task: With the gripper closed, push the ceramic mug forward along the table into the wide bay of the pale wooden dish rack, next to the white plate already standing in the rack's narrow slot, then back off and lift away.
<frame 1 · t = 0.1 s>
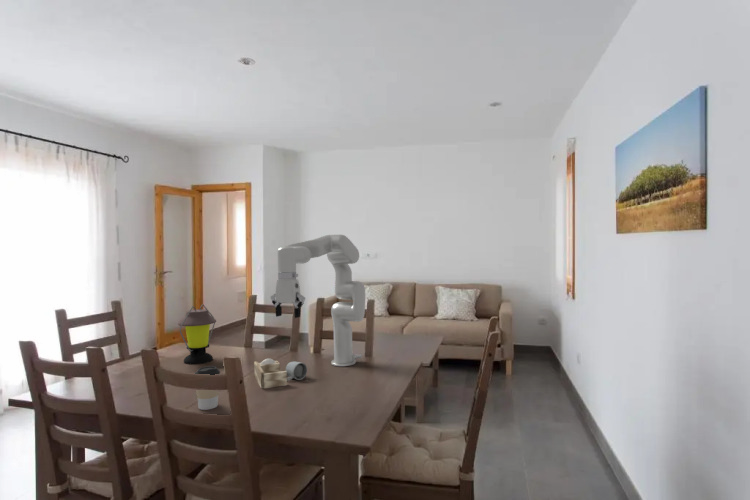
hand: (288, 316, 187), 31 cm above the table, tool pointing down, fingers open, 9 cm apart
lantern: (198, 361, 239), on the table
white plate: (268, 376, 208), resting in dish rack
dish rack: (270, 380, 201), on the table
coffee cup: (208, 406, 170), on the table
ceramic mug: (293, 379, 204), on the table
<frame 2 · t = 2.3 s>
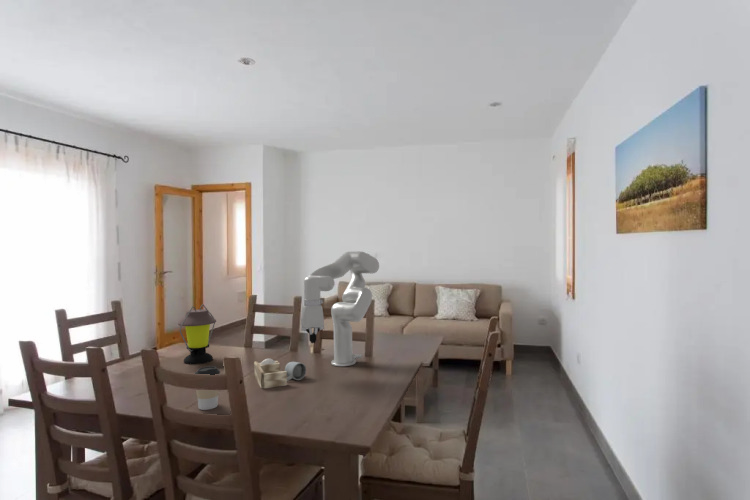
hand: (312, 342, 207), 16 cm above the table, tool pointing down, fingers closed
nothing on the table moved.
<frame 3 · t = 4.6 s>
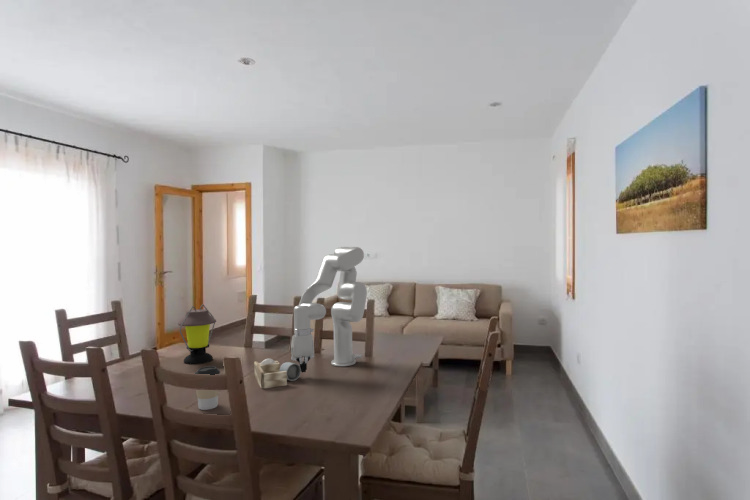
hand: (303, 371, 205), 3 cm above the table, tool pointing down, fingers closed
ceramic mug: (287, 380, 202), on the table, touching gripper
everything else where it was.
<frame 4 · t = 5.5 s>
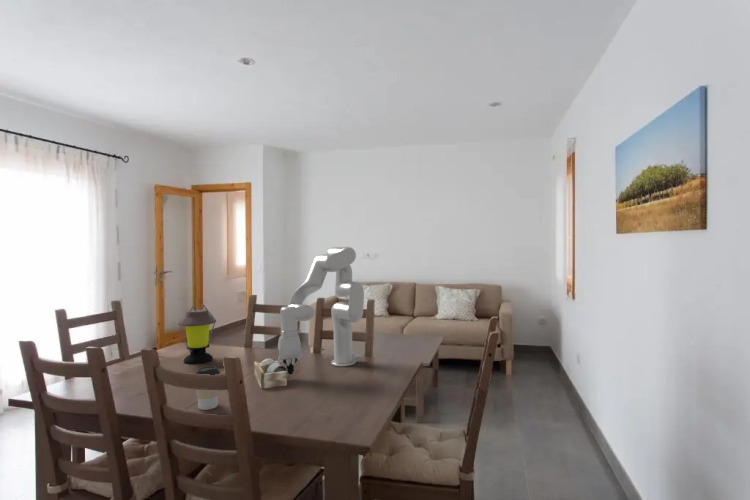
hand: (290, 373, 203), 3 cm above the table, tool pointing down, fingers closed
ceramic mug: (274, 382, 200), on the table, touching gripper
everything else where it was.
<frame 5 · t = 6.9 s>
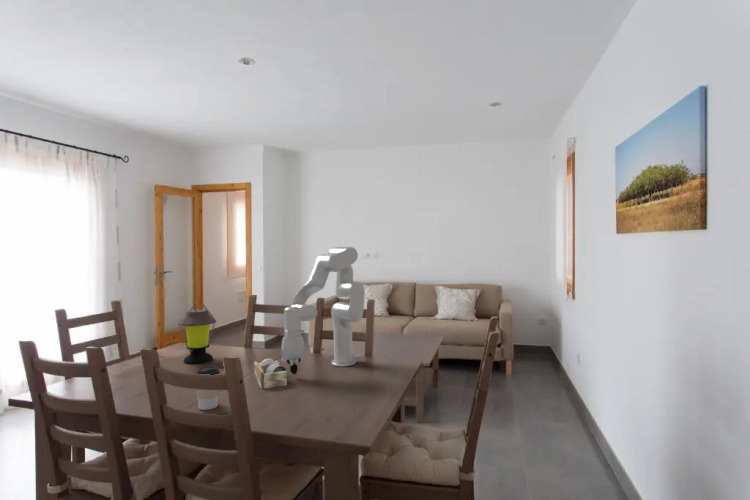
hand: (293, 373, 204), 2 cm above the table, tool pointing down, fingers closed
ceramic mug: (273, 382, 199), on the table
everything else where it was.
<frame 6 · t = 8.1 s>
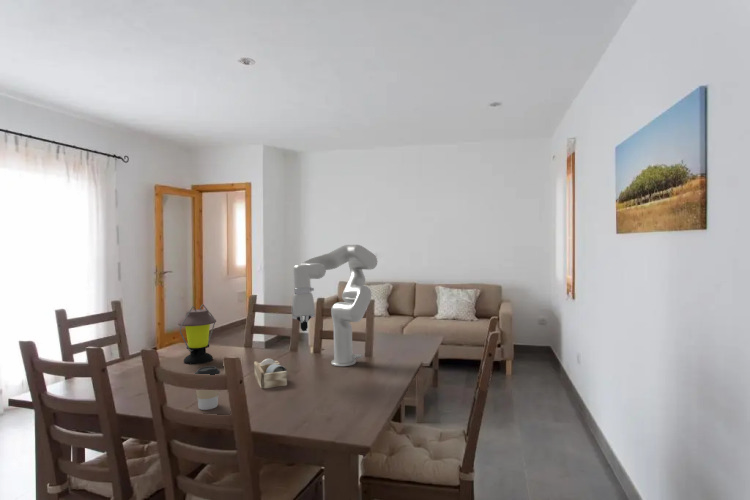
hand: (304, 330, 206), 22 cm above the table, tool pointing down, fingers closed
nothing on the table moved.
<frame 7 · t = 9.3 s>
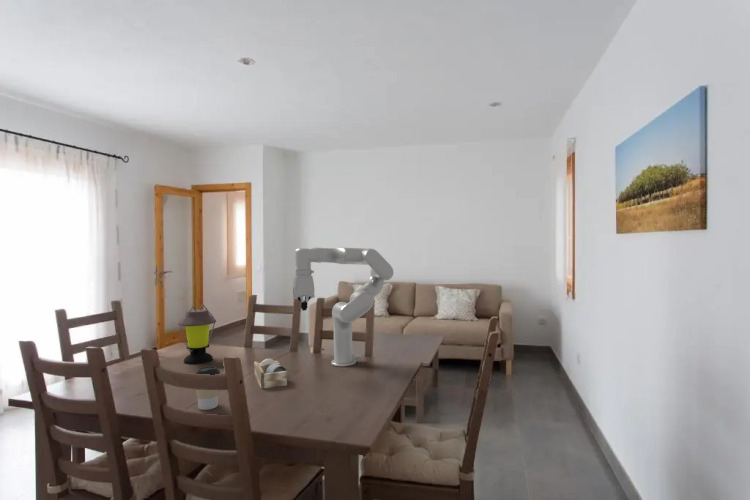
hand: (304, 310, 220), 29 cm above the table, tool pointing down, fingers closed
nothing on the table moved.
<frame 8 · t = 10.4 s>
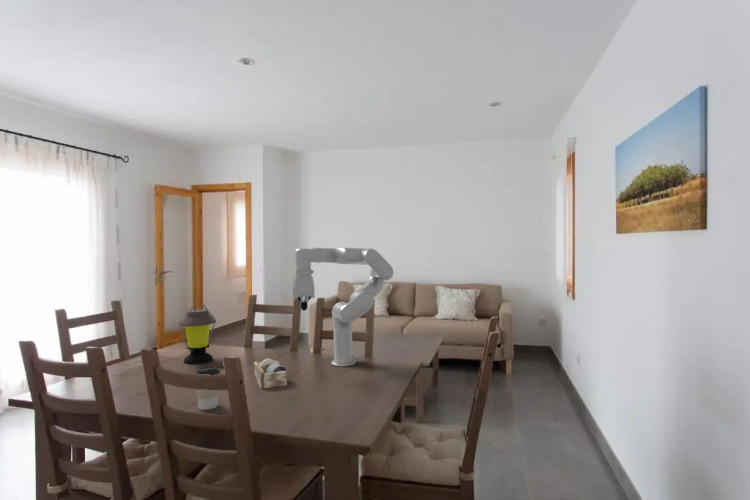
hand: (304, 310, 220), 29 cm above the table, tool pointing down, fingers closed
nothing on the table moved.
at the end: ceramic mug inside the target area (1.3 cm from its centre), on the table; ceramic mug tilted 0°; ceramic mug moved 9.4 cm from its start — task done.
